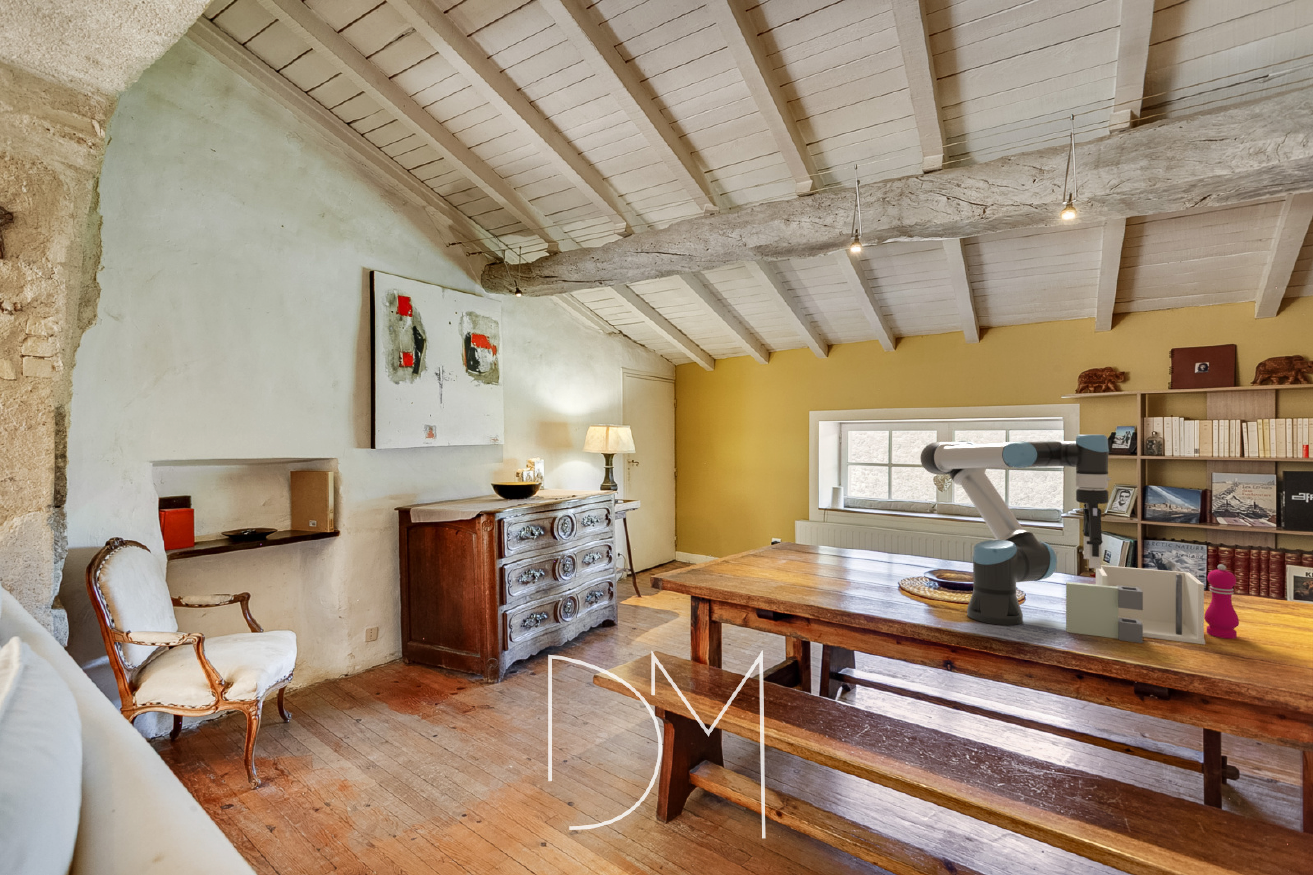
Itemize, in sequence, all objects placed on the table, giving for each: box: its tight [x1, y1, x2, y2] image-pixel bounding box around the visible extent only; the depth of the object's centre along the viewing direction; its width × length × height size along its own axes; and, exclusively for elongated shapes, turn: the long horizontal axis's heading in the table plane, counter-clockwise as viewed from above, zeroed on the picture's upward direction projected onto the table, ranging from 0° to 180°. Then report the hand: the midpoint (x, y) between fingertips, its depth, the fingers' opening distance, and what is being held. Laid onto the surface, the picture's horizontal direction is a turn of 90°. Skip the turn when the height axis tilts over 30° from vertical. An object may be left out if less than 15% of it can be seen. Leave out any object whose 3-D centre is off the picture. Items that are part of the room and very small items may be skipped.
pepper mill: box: [1204, 563, 1240, 640], centre depth 175 cm, size 7×7×20 cm
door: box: [1065, 581, 1144, 644], centre depth 176 cm, size 17×5×14 cm, turn 60°
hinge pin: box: [1176, 574, 1182, 635], centre depth 173 cm, size 1×1×17 cm
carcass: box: [1095, 564, 1206, 645], centre depth 180 cm, size 23×16×16 cm
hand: (1092, 563), depth 177 cm, fingers open, 13 cm apart
